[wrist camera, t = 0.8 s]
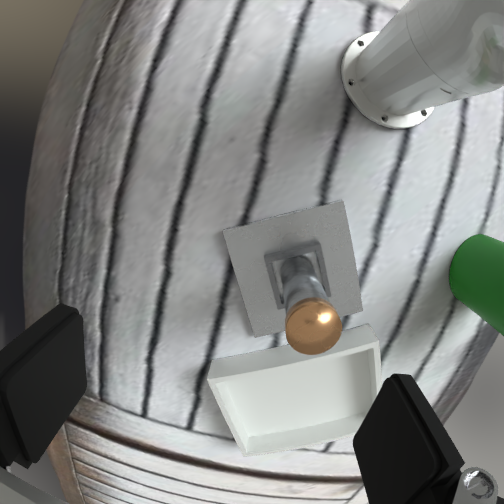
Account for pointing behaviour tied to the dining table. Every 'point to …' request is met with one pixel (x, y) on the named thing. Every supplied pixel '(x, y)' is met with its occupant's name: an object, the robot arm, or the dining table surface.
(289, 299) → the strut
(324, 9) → the dining table surface
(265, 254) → the socket plate
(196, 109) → the dining table surface
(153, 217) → the dining table surface
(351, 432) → the bin
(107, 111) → the dining table surface
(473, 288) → the motor
